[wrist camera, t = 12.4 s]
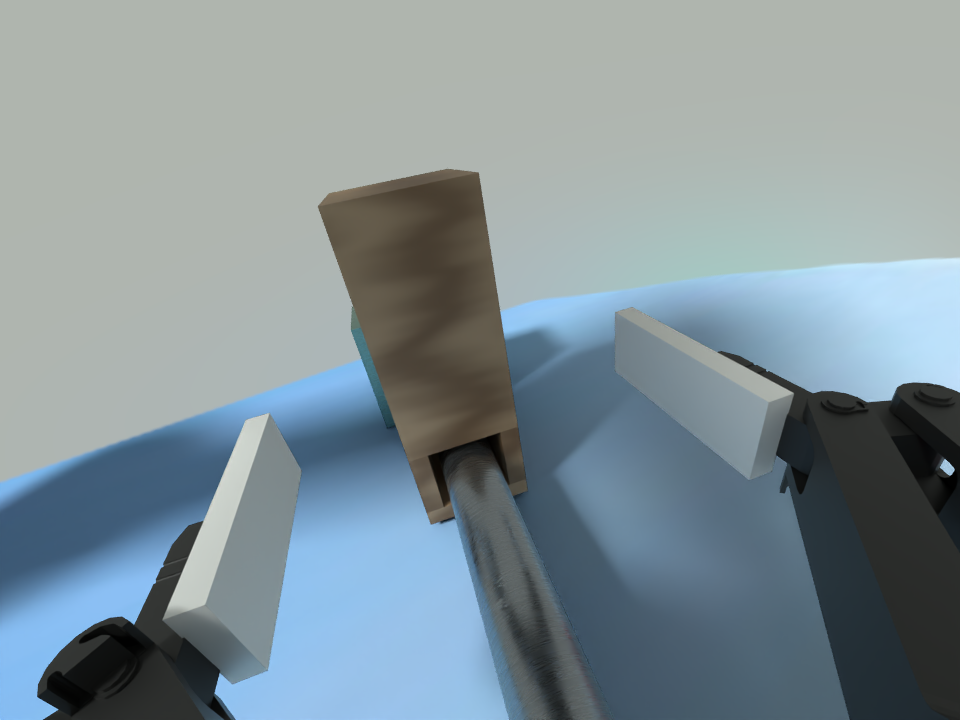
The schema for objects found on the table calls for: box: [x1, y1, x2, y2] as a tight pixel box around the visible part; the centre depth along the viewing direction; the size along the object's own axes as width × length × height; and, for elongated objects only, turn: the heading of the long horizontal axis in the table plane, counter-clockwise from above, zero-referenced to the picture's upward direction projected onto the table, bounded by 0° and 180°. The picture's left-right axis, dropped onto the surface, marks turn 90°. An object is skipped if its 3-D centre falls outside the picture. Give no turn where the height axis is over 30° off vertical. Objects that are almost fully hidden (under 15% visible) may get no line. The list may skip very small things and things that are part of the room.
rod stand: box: [351, 307, 614, 720], centre depth 22 cm, size 10×29×9 cm, turn 16°
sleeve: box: [318, 169, 528, 524], centre depth 21 cm, size 6×6×18 cm
